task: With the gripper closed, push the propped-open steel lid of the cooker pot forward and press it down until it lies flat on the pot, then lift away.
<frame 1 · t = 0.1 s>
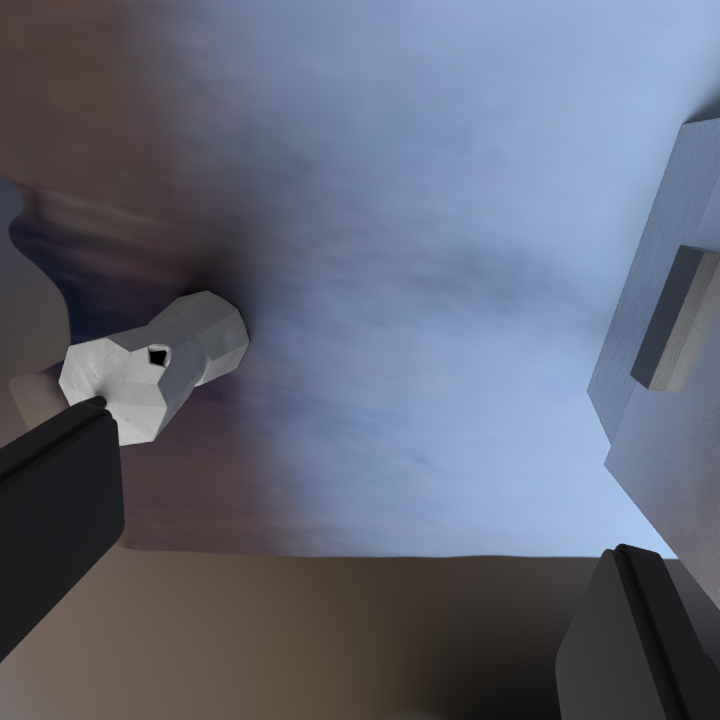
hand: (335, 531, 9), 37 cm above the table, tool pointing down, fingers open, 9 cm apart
coffeepot: (203, 337, 52), on the table
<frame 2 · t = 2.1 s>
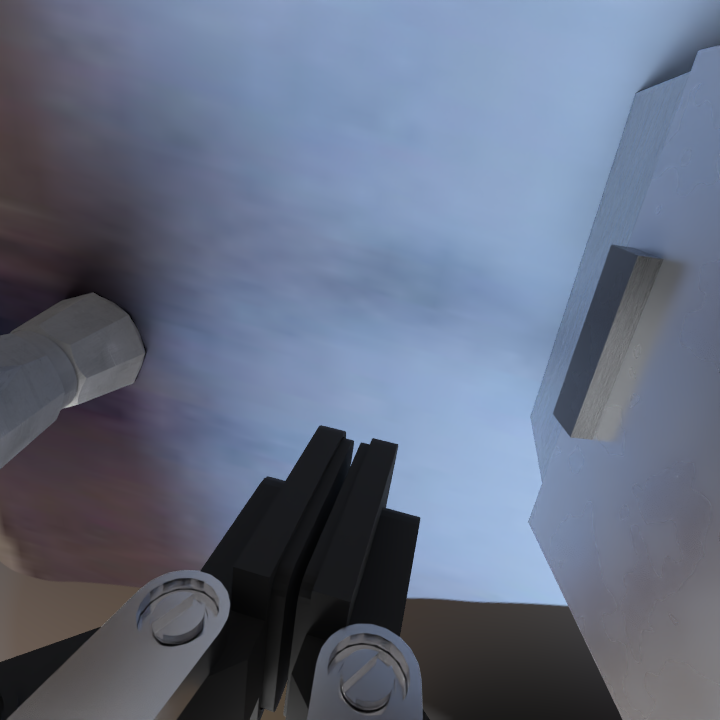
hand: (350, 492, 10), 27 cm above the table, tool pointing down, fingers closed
coffeepot: (95, 346, 45), on the table
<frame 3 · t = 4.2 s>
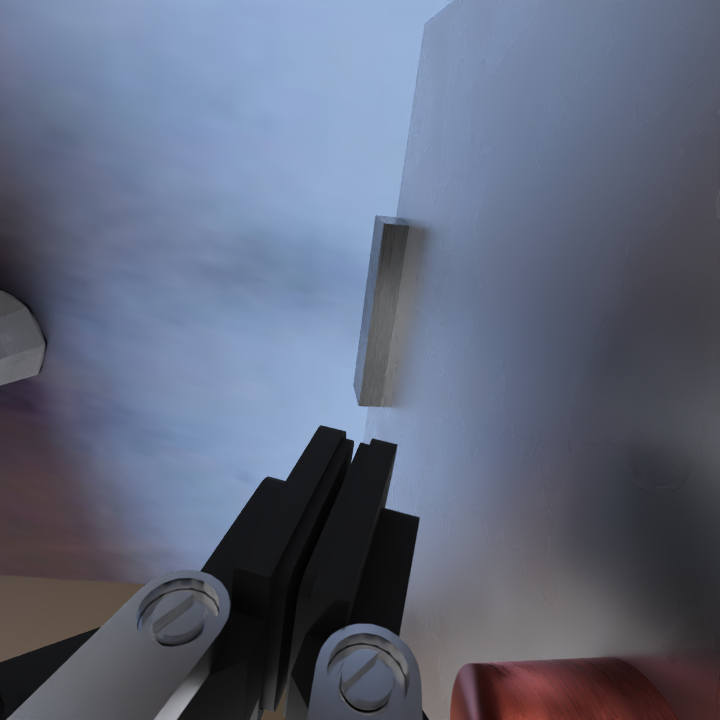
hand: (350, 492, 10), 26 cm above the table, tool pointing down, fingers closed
coffeepot: (0, 339, 46), on the table
cooker lid: (440, 435, 13), point 23 cm above the table, hinge at 69.4°, touching gripper
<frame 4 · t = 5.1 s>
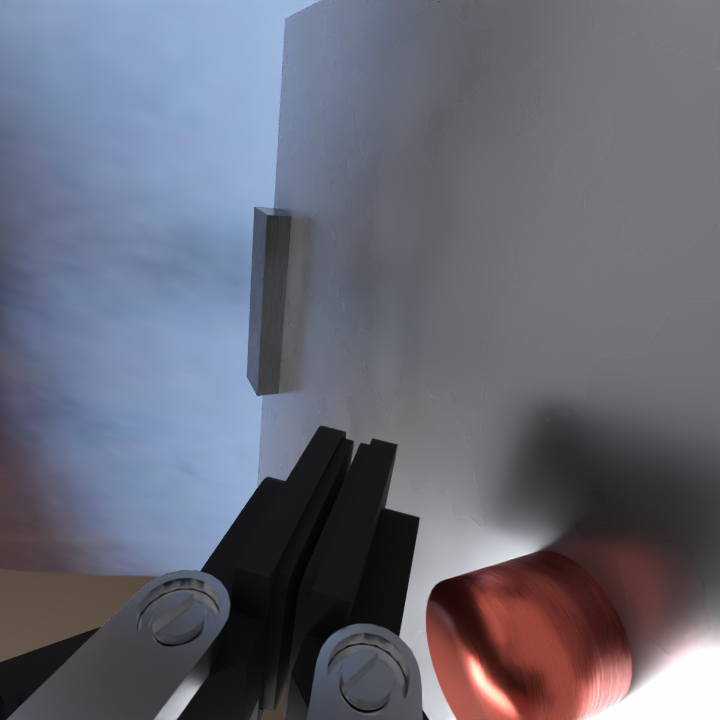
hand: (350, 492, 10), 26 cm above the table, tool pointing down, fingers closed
cooker lid: (358, 409, 14), point 22 cm above the table, hinge at 51.3°, touching gripper
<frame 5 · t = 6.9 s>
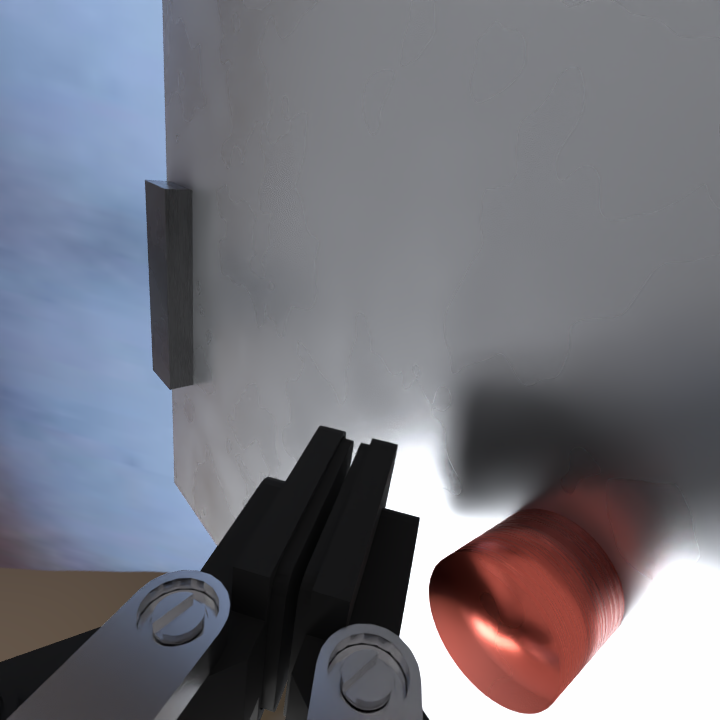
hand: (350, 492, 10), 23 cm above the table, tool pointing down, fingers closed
cooker lid: (303, 393, 14), point 20 cm above the table, hinge at 37.8°, touching gripper
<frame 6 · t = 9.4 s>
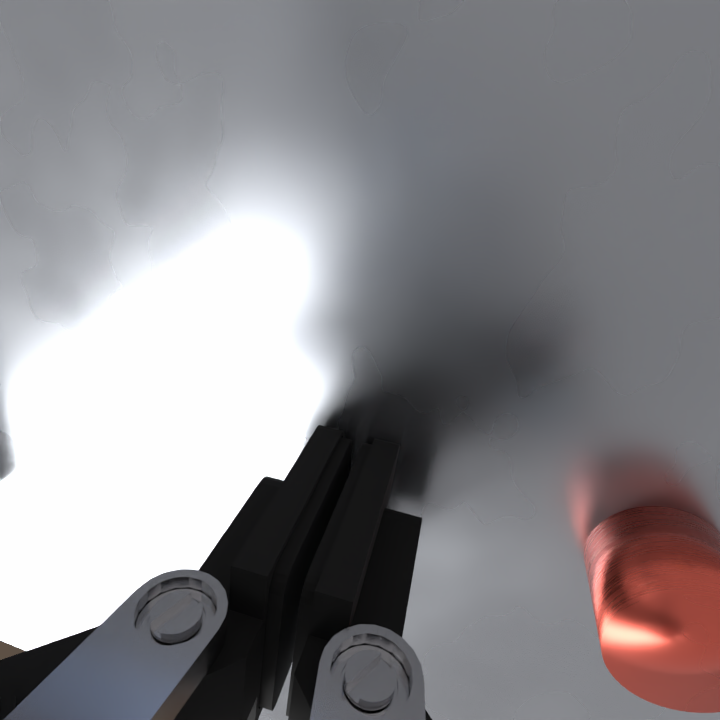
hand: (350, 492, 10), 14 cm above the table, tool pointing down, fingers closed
cooker lid: (272, 462, 10), point 14 cm above the table, hinge at 3.2°, touching gripper
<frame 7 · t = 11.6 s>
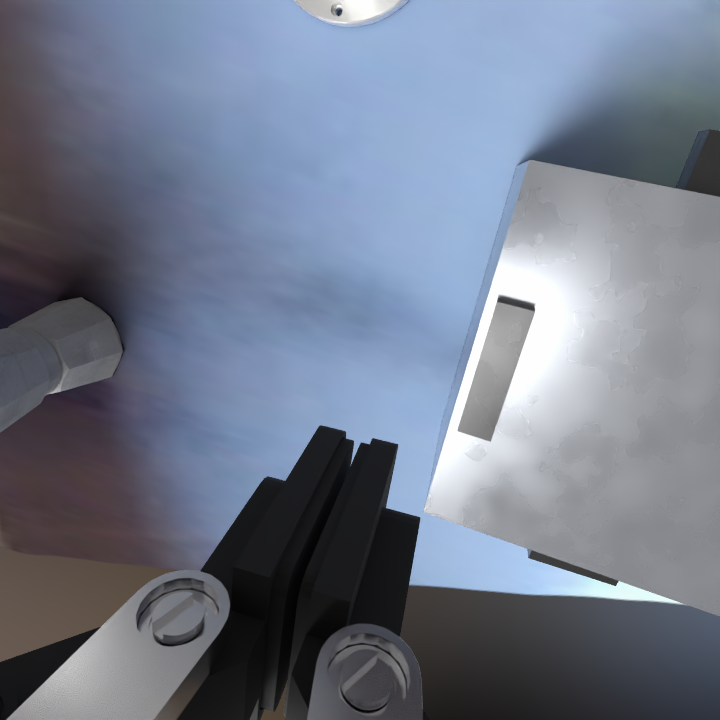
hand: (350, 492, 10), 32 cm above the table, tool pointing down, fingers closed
coffeepot: (80, 343, 52), on the table
cooker lid: (673, 422, 26), point 14 cm above the table, hinge at 2.9°
cooker pot: (613, 341, 39), on the table
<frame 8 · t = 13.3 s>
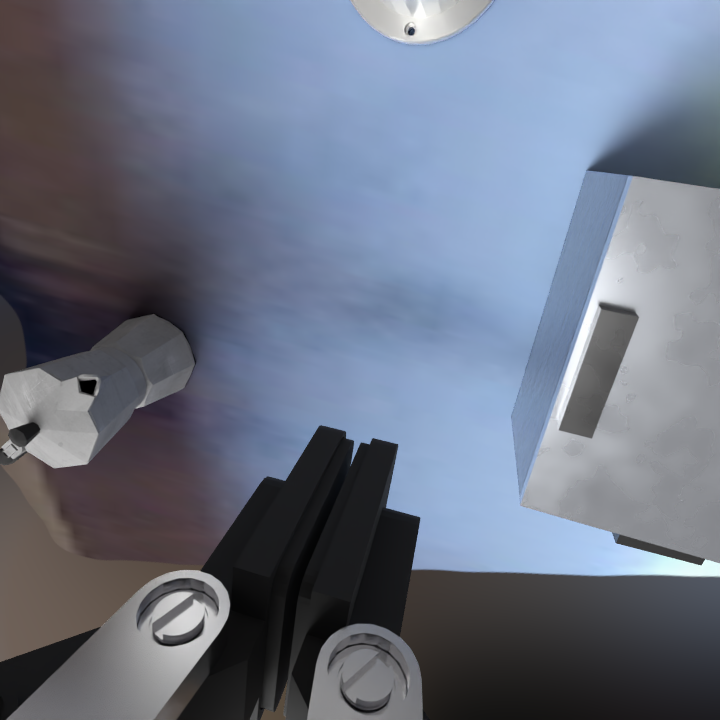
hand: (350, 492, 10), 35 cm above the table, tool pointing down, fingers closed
coffeepot: (152, 358, 54), on the table
cooker pot: (681, 333, 41), on the table
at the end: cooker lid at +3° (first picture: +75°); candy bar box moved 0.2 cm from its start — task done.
